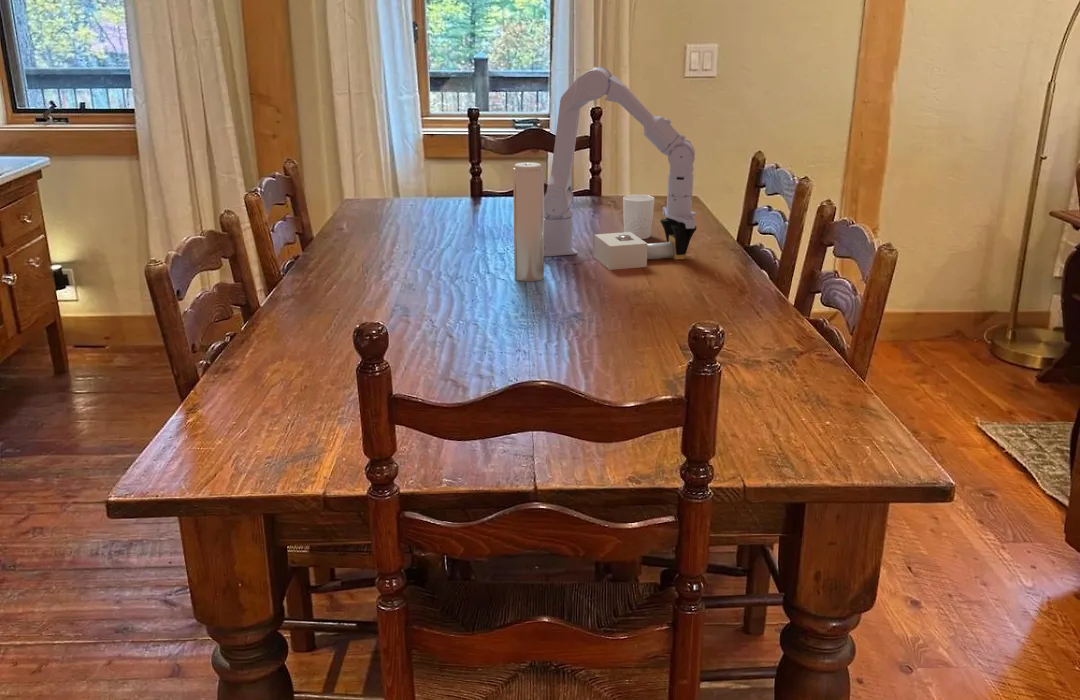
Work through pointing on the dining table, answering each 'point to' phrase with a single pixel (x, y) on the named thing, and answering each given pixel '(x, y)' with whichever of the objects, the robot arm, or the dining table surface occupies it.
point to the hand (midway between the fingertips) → (676, 251)
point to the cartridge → (663, 250)
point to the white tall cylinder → (528, 221)
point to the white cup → (638, 214)
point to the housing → (620, 251)
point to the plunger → (624, 237)
